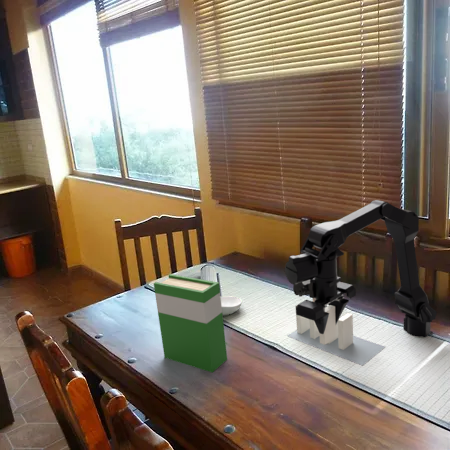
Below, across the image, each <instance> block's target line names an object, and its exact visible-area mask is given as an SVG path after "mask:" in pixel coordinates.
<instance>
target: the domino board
mask: <svg viewBox="0 0 450 450" xmlns="http://www.w3.org/2000/svg"><path fill="white" fill-rule="evenodd" d="M286 336H287V337H289V338H291V339H294V340H296V341H298V342H301V343H304V344H307V345H309V346H310V347H311V346H312V347H314V348H316V349H319V350H322V351H324V352H327V353H329V354H332V355H335V356H337V357H339V358H342V359H345V360H347V361H349V362H353V363H355V364H357V365H361V366H362V367H363V366H365V364H366V363H368V362H369V361H370V360H372V359H373V358H374V357H376V356H377V355H378V354H379V353H380V352H382V350H384V349H385V348H386V346H385V345H381V344H379V343H377V342H374V341H370V340H367V339H364V338H361V337H359V336H356V335H353V343H352V344H351V345H350V346H348V347H347V348H345V349H344V350H342V349H340V348H339V343H338V338H337V339H336V340H334V341H333V342H331V343H330V344H325V345H324V344H321V343H320V336H318V337H317V338H315V339H313V338H310V329H308V330H307V331H305V332H304V333H302V334H300V333H297V329H296V330H294V331H292V332H291V333H289V334H287V335H286Z"/></svg>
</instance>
